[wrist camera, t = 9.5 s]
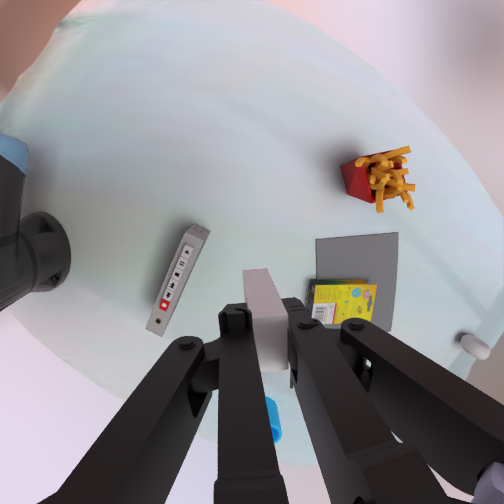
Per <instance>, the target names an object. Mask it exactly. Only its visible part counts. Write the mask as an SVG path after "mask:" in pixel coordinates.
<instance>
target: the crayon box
mask: <svg viewBox="0 0 504 504" xmlns="http://www.w3.org/2000/svg"><path fill="white" fill-rule="evenodd" d="M376 289H377V284H370V285H368V284H367V283H366V282H364V281H363V280H311V286H310V295H309V305H308V313H309V315H310V316H311V318H315V319H318V320H319V321H320V322H322V324H339V323H342V322H343V321H344V320H346V319H349V318H354V317H355V318H356V317H357V318H362V319H365V320H368V321H371V317H372V311H373V306H374V300H375V295H376ZM371 295H372V300H371V301H372V304H371V306H370V310H369V311H367V307H368V306H367V302H368V301H369V297H370V296H371Z"/></svg>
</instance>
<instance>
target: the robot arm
mask: <svg viewBox="0 0 504 504" xmlns="http://www.w3.org/2000/svg"><path fill="white" fill-rule="evenodd" d="M28 156H29V150H28V147H27V145H26V144H25V143H24V142H22V141H20V140H18V139H16V138H13V137H10V136H7V135H4V134H1V133H0V312H1V311H2V310H3V309H5V308H6V307H8V306H9V305H11V304H13V303H14V302H16V301H17V300H19V299H20V298H22V297H23V296H25V295H27V294H28V293H30V292H47V291H50V290H53V289H55V288H56V287H58V286H59V285H61V284H62V283H63V282H64V280H65V279H66V277H67V275H68V272H69V269H70V263H71V253H70V246H69V242H68V239H67V236H66V234H65V231H64V230H63V228H62V226H61V225H60V224H59V222H58V221H57V220H56V219H55V218H54V217H52V216H51V215H49V214H46V213H34V214H30V215H28V216H26V217H24V218H23V219H22V220H20V212H21V203H22V195H23V188H24V181H25V177H26V176H27V172H26V168H27V162H28ZM242 271H243V284H244V297H245V303H238V304H227V305H226V306H225V307H224V308H223V310H222V311H221V312H220V313H219V314H218V318H219V326H220V337H219V338H218V339H216V340H214V341H212V342H209V343H205V344H203V341H202V339H200V338H198V337H194V336H184V337H180V338H178V339H176V340H174V341H173V342H172V343H171V344H170V345H169V346H168V348H167V349H166V350H165V351H164V353H163V354H162V355H161V357H160V358H159V359H158V360H157V362H156V363H155V364H154V366H153V367H152V368H151V369H150V371H149V372H148V373H147V375H146V376H145V377H144V378H143V380H142V381H141V382H140V384H139V385H138V386H137V388H136V389H135V390H134V391H133V393H132V394H131V395H130V397H129V398H128V399H127V400H126V402H125V403H124V404H123V406H122V407H121V409H120V410H119V411H118V412H117V413H116V415H115V416H114V417H113V419H112V420H111V421H110V423H109V424H108V425H107V427H106V428H105V429H104V431H103V432H102V433H101V435H100V436H99V437H98V438H97V440H96V441H95V442H94V444H93V445H92V446H91V448H90V449H89V450H88V451H87V453H86V454H85V455H84V457H83V458H82V459H81V461H80V462H79V463H78V465H77V466H76V467H75V469H74V470H73V471H72V473H71V474H70V475H69V476H68V478H67V479H66V480H65V482H64V483H63V484H62V486H61V487H60V488H59V490H58V491H57V492H56V493H54V494H53V495H51V496H49V497H47V498H46V499H44V500H42V501H41V502H39V503H37V504H164V503H165V501H166V499H167V497H168V495H169V492H170V490H171V488H172V486H173V484H174V481H175V479H176V477H177V475H178V473H179V470H180V468H181V466H182V463H183V461H184V459H185V457H186V454H187V452H188V450H189V448H190V445H191V443H192V441H193V439H194V436H195V434H196V432H197V429H198V427H199V425H200V422H201V420H202V418H203V415H204V413H205V411H206V409H207V406H208V404H209V401H210V399H211V397H212V391H213V390H217V389H219V394H218V478H217V480H216V481H215V483H214V504H289V501H288V497H287V492H286V487H285V483H284V479H283V477H282V475H281V474H280V471H279V466H278V461H277V456H276V451H275V446H274V440H273V435H272V430H271V425H270V420H269V414H268V409H267V404H266V398H265V393H264V388H263V382H262V377H261V372H269V371H278V370H286V369H288V360H289V363H290V366H291V371H290V389H291V388H293V385H294V388H295V392H296V395H297V398H298V401H299V404H300V407H301V410H302V413H303V416H304V420H305V423H306V426H307V429H308V432H309V435H310V438H311V441H312V445H313V448H314V451H315V454H316V457H317V460H318V463H319V466H320V469H321V473H322V476H323V479H324V482H325V485H326V488H327V491H328V494H329V497H330V501H331V504H504V405H502V404H501V403H499V402H498V401H496V400H495V399H493V398H491V397H490V396H488V395H487V394H485V393H483V392H482V391H480V390H478V389H477V388H475V387H474V386H472V385H471V384H469V383H467V382H466V381H464V380H463V379H461V378H459V377H458V376H456V375H455V374H453V373H451V372H450V371H448V370H447V369H445V368H443V367H442V366H440V365H439V364H437V363H435V362H434V361H432V360H431V359H429V358H427V357H426V356H424V355H423V354H421V353H419V352H418V351H416V350H415V349H413V348H411V347H410V346H408V345H406V344H405V343H403V342H402V341H400V340H398V339H397V338H395V337H394V336H392V335H390V334H389V333H387V332H386V331H384V330H382V329H381V328H379V327H377V326H376V325H374V324H373V323H371V322H369V321H368V320H365V319H362V318H357V317H356V318H355V317H354V318H349V319H346V320H344V321H343V322H342V323H341V329H331V328H325V327H324V326H323V324H322V322H320V321H319V320H318V319H315V318H311V316H310V315H309V313H308V311H307V310H306V308H305V307H304V305H303V303H302V302H301V300H299V299H297V298H295V297H293V298H284V299H281V298H280V296H279V294H278V292H277V289H276V287H275V285H274V283H273V281H272V278H271V276H270V274H269V272H268V270H267V268H265V269H253V270H242ZM367 359H368V360H369V361H370V362H371V367H369V366H367V365H366V362H367ZM390 430H391V431H392V432H393V433H394V434H395V435H396V436H397V437H398V438H399V439H400V440H401V441H403V443H399V442H398V441H397V440H396V439H395V437H394V436H393V434H392V433H391V431H390ZM427 464H428V465H429V466H430V467H431V468H432V469H433V470H435V471H436V472H437V473H438V474H439V475H440V476H441V477H442V478H444V479H445V480H446V481H447V482H449V483H450V484H451V485H452V486H454V487H455V488H457V489H459V490H461V491H462V492H464V493H467V494H469V495H472V496H474V498H473V500H472V502H471V503H470V502H466V501H462V500H458V499H455V498H451V497H448V496H447V495H446V493H445V492H444V490H443V488H442V487H441V485H440V483H439V482H438V480H437V479H436V478H435V476H434V474H433V472H432V471H431V469H430V468H429V466H428V465H427Z"/></svg>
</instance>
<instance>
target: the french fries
mask: <svg viewBox="0 0 504 504" xmlns="http://www.w3.org/2000/svg"><path fill="white" fill-rule="evenodd" d="M410 152H411V150H410V147H409V146H405V147H402V148H399V149H396V150H391V151H386V152H381V153H376V154H372V155H367V156H362V157H359V158H357V159H355V160H352V161H350V162H348V163H346V164H344V165H342V166H340V167H341V171H342V174H343V178H344V182H345V186H346V190H347V194H348V195H350V196H353V197H356V198H358V199H361V200H363V201H366V202H369V203H375V202H376V211H377V212H378V213H380V212H383V200H385V199H391V198H394V197H396V196H399V195H400V196H401V198H402V200H403V202H404V203H407V207H408V208H409V209H410V210H412V209H414V205H413V201H412V199H411V196H410V195H409V194H408V193H407V191H414V192H415V184H408V183H405V179H404V175H405V174H409V173H408V168H405V169H402V166H401V164H404V163H406V162H407V159H406V158H405V157H403V156H400V155H403V154H406V153H410Z"/></svg>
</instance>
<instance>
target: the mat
mask: <svg viewBox="0 0 504 504" xmlns="http://www.w3.org/2000/svg"><path fill="white" fill-rule="evenodd" d="M316 259H317V280H363V281H364V282H366V283H367V284H368V285H370V284H377V289H376V295H375V300H374V306H373V311H372V317H371V321H369V322H371V323H373V324H374V325H376V326H377V327H379V328H381V329H382V330H384V331H386V332H389V331H391V326H392V319H393V310H394V301H395V291H396V279H397V263H398V232H397V233H386V234H374V235H362V236H351V237H339V238H328V239H317V240H316ZM371 300H372V295H371V296H370V297H369V301H368V302H367V306H368V307H367V311H369V310H370V306H371V304H372V301H371ZM323 326H324V327H325V328H331V329H341V323H339V324H323Z"/></svg>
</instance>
